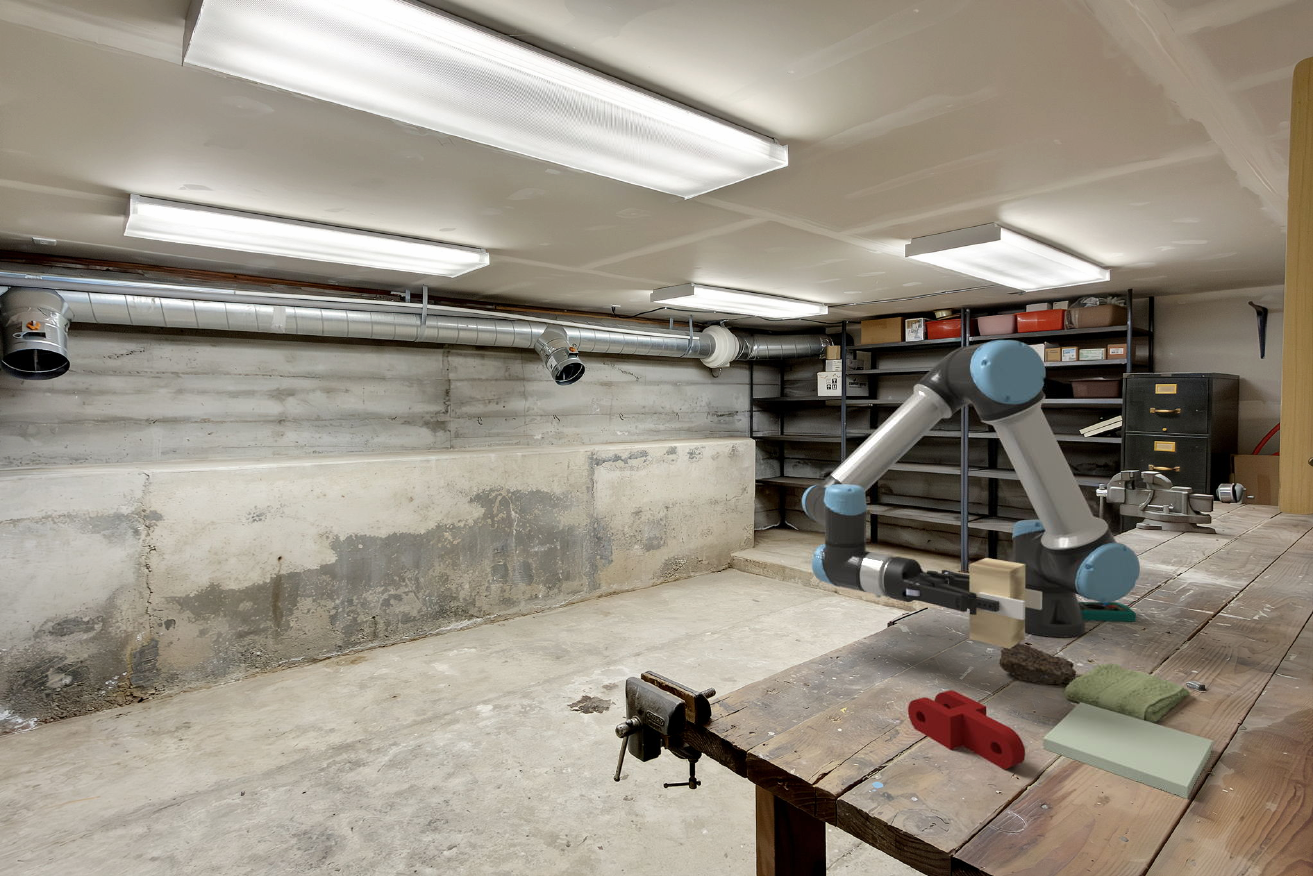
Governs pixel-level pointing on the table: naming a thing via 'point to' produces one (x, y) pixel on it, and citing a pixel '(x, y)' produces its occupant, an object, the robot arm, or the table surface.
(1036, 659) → the brown rock
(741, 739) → the table surface
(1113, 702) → the washcloth
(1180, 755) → the sage board
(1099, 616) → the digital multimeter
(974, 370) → the robot arm
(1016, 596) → the beech block
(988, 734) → the mechanical linkage
